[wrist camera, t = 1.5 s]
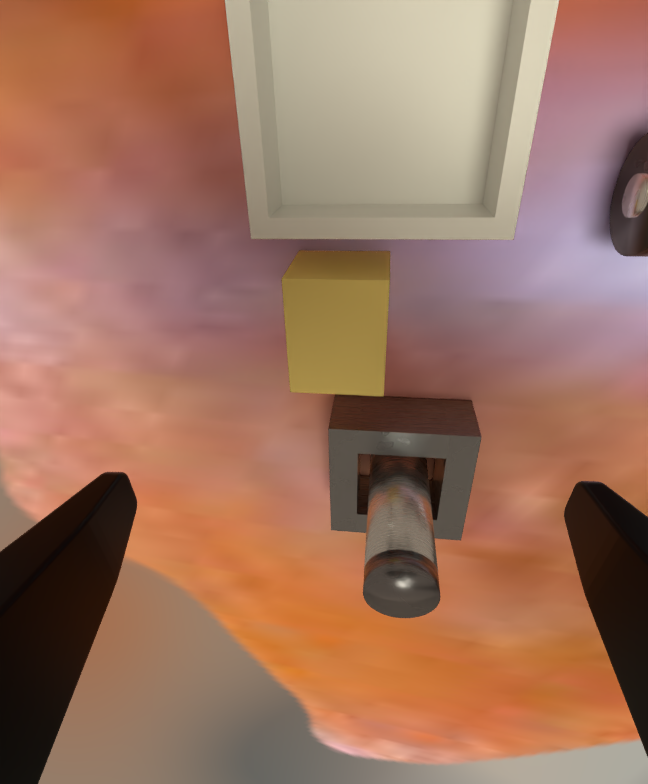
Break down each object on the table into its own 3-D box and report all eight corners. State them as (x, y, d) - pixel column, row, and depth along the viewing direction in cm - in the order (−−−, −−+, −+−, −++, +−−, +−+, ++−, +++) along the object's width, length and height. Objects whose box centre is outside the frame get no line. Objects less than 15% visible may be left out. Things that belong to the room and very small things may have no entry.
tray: (496, 221, 19) (513, 239, 16) (268, 221, 20) (250, 238, 17) (570, -220, 12) (616, -301, 10) (233, -183, 14) (197, -248, 11)
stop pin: (423, 471, 26) (436, 621, 19) (370, 468, 26) (362, 614, 19) (428, 429, 25) (444, 575, 17) (371, 426, 25) (363, 567, 17)
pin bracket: (454, 499, 27) (460, 540, 24) (336, 491, 28) (331, 530, 25) (471, 400, 23) (481, 436, 21) (334, 394, 24) (328, 428, 22)
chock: (384, 352, 23) (383, 396, 19) (304, 350, 23) (290, 392, 20) (390, 250, 20) (389, 280, 17) (299, 249, 20) (281, 278, 17)
